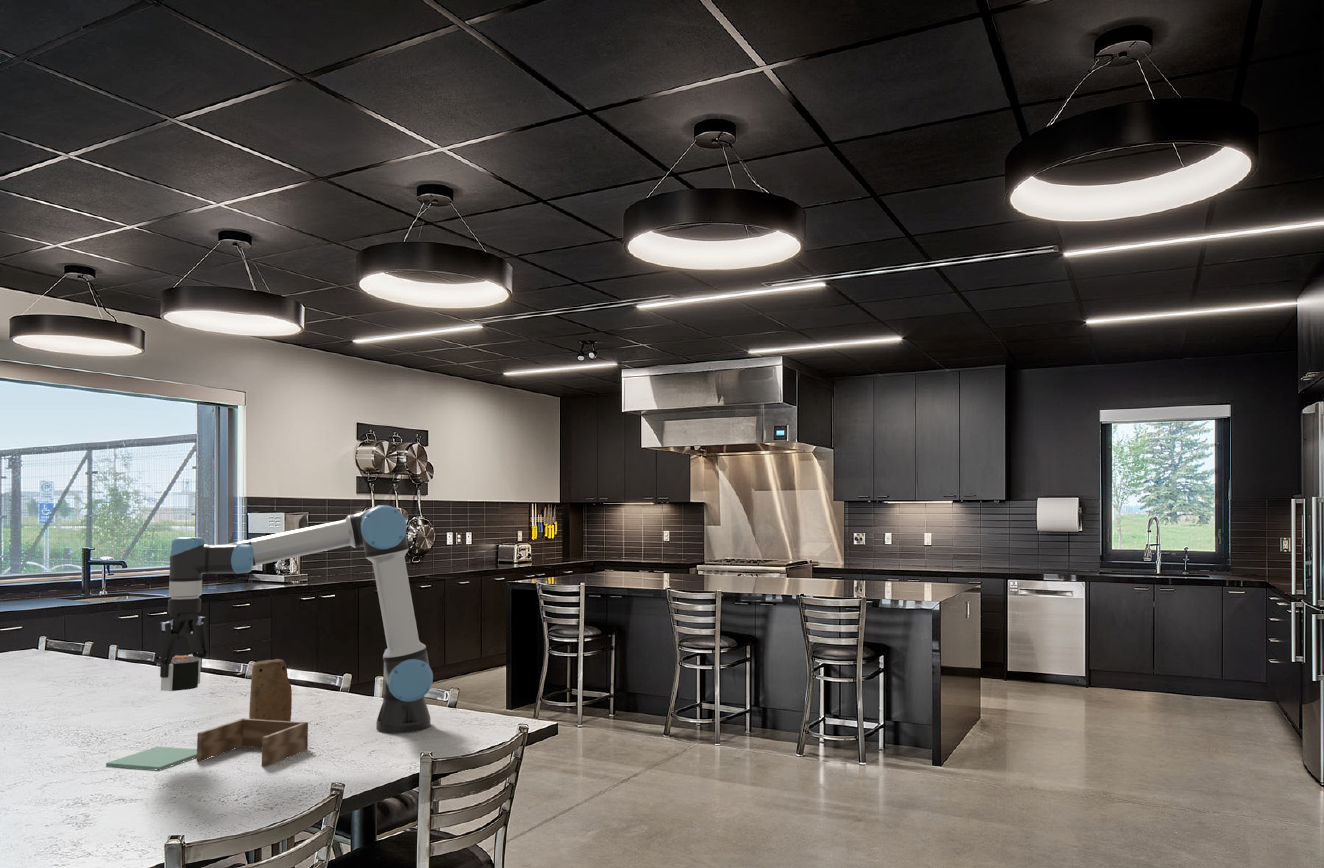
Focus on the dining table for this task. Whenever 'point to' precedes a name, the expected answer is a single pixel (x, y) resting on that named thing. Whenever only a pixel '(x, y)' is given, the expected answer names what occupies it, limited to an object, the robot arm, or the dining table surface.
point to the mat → (155, 758)
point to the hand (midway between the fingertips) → (180, 687)
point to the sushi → (185, 672)
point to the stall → (255, 738)
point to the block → (270, 691)
